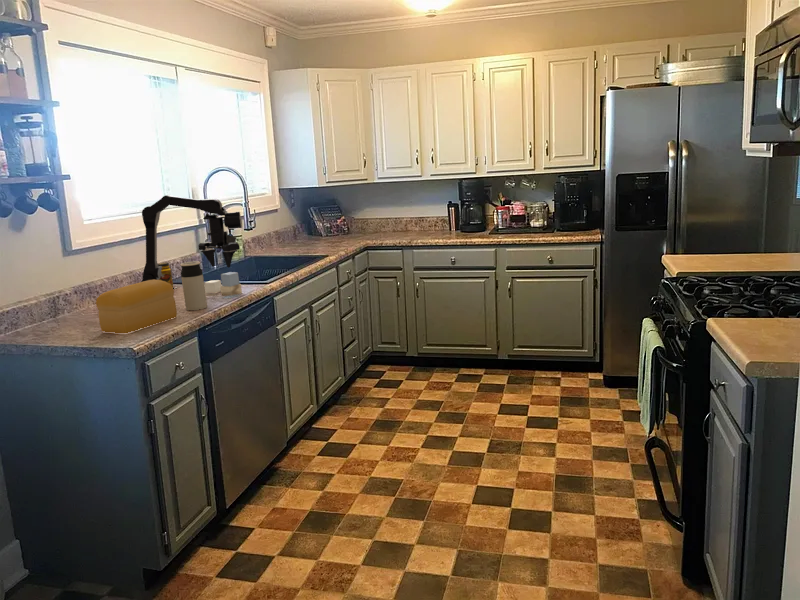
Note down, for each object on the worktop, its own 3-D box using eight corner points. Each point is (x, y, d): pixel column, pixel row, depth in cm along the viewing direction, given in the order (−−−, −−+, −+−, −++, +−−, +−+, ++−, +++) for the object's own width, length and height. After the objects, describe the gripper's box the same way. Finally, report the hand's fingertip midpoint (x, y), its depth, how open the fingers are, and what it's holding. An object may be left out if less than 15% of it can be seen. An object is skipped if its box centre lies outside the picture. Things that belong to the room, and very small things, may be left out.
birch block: (231, 296, 278) (230, 287, 277) (221, 295, 281) (220, 286, 281) (242, 293, 283) (240, 284, 282) (232, 292, 286) (230, 283, 285)
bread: (153, 316, 253) (147, 277, 250) (178, 317, 247) (172, 277, 244) (100, 333, 232) (92, 291, 228) (127, 335, 226) (119, 292, 223)
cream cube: (215, 294, 286) (214, 282, 285) (205, 294, 288) (204, 282, 287) (222, 291, 291) (220, 280, 290) (212, 291, 293) (210, 280, 292)
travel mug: (201, 310, 255) (194, 264, 251) (182, 311, 256) (175, 265, 253) (211, 306, 262) (204, 260, 258) (192, 306, 264) (185, 261, 260)
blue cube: (230, 286, 278) (229, 274, 277) (222, 286, 281) (220, 274, 280) (239, 284, 282) (237, 272, 281) (231, 283, 285) (229, 272, 284)
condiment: (165, 291, 302) (161, 265, 299) (153, 290, 306) (148, 264, 303) (178, 287, 308) (174, 262, 305) (165, 287, 312) (161, 261, 309)
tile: (229, 298, 273) (229, 297, 273) (222, 298, 275) (222, 297, 275) (240, 295, 278) (240, 294, 278) (233, 295, 280) (233, 294, 280)
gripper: (247, 227, 278) (251, 264, 281) (216, 227, 288) (220, 262, 291) (227, 231, 269) (231, 269, 272) (195, 230, 279) (200, 267, 282)
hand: (221, 266), depth 280 cm, fingers open, 9 cm apart
